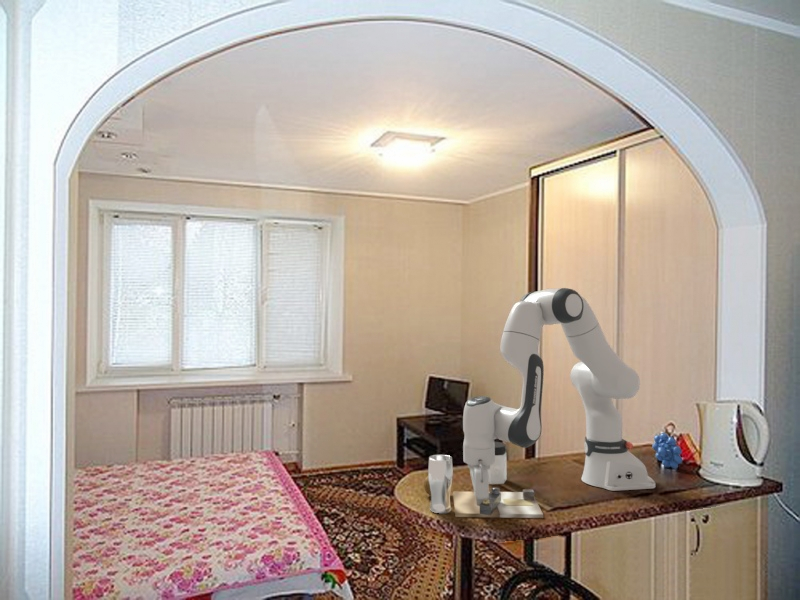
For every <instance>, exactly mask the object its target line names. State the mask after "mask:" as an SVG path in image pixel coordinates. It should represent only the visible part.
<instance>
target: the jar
mask: <svg viewBox="0 0 800 600" xmlns="http://www.w3.org/2000/svg"><path fill="white" fill-rule="evenodd" d="M494 443H495V462H494V463H493V464H491V465H490V469H488V479H489V485H490V486H491V485H504V484H505V483H506V481H507V479H508V478H507V477H508V475H507V473H508V472H507V471H508V470H507V466H508V465H507V448H506V447H507V446H506V444H505V443H504V442H501V441H494Z"/></svg>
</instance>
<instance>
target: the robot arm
mask: <svg viewBox="0 0 800 600" xmlns="http://www.w3.org/2000/svg"><path fill="white" fill-rule="evenodd" d="M547 325H548V326H551V325H560V326H561V328H562V332H563V333H564V336H565V339H566V340H567V343H568V345H569V346H570V349H571V351H572V353H573V355H574V357H575V358H576V359H578V360H579V361H580V362H579V361H578V362H577V363H575V364H574V365H573V367H572V368H571V370H570V377H569V378H570V382H571V384H572V385H573V387H574V388H575V390H577V392H578V394H579V397H580V399H581V401H582V404H583V408H584V412H585V428H586V429H585V432H586V434H585V435H586V436H585V438H584V454H585V459H584V465H583V472H582V475H581V481H582V482H583V483H585V484H587V485H590V486H593V487H597V488H602V489H606V490H608V491H614V492H615V491H629V490H631V491H632V490H635V491H636V490H647V489H648V490H649V489H656V481H655V480H654V479H653V478H652V477H650V476H649V474H648V470H647V467H646V465H645V464H644V463H643V461H641V460H640V459H639V458H638V457H637V456H635V455H634V454H633V453H631V452H630V451H629V450H633V448H634V444H633V443H632V442H630V441H627V440H626V439H625V438H623V416H622V414H621V412H620V411H619V410H618V408H616V406H615V405H614V403H613V400H612V399H614V400H626V399H627V400H628V399H632V398H634V397H635V396H636V395H637V394H638V392H639V390H640V388H641V387H640V385H641V380H640V375H639V374H638V373H637V371H636V370H635V369H633V368H632V367H630V366H629V365H627V364H626V363H625V362H624V361H623V360H622V359H621V357H620V356H619V355H618V354H617V353H616V352H615V350H614V349H613V348H612V346H611V345H610V343H609V342H608V340H607V338H606V336H605V334H604V332H603V329H602V328H601V325H600V323H599V320H598V319H597V317H596V314H595V312H594V310H593V309H592V307H591V306H590V304H589V303H588V301H587V300H586V298H585V297H583V296H582V295H581V294H580V293H579V292H577V291H576V290H575V289H573V288H566V287H562V288H561V287H560V288H547V289H543V290H537V291H536V290H535V291H531V292H528V293H526V294H524V295H523V296H522V297H521V299H520V300H519V301H517V302H515V304H513V305H512V307H511V309H510V312H509V314H508V317H507V319H506V322H505V324H504V327H503V331H502V334H501V335H502V336H501V339H500V344H499V346H500V349H499V351H500V353H501V355H502V357H503V359H504V360H505V362H507V363H508V364H509V365H510V366H512V367H513V368H515V369H516V370H517V371H518V372H519V373H520V374H521V377H522V389H521V396H520V397H521V399H520V407H519V408H514V407H509V406H505V405H501V404H499V403H496V402H494V400H493V399H492V398H491V397H489V396H486V395H485V396H484V395H483V396H482V395H479V396H473V397H471V398H469V399H468V400H467V401H466V402H465V405H464V407H463V414H462V415H463V417H462V431H463V435H464V437H463V438H464V439H463V445H462V451H463V452H462V455H463V456H462V457H463V458H462V459H463V463H465V464H466V465H467V468H468V469H469V474H470V479H471V483H472V488H473V492H474V494H475V498H476V504H477V506H480V504H481V503H482V502H483V500H486V499H488V498H489V492H490V486H489V485H490V484H489V479H488V469H490V465H491V464H493V463H494V462H495V443H494V442H495V440H499V441H503V442H507V443H511V444H513V445H515V446H518V447H520V448H523V449H526V448H529V447H531V446H533V445H534V444H535V443H536V442H537V441H538V440H539V439H540V437H541V434H542V417H541V416H542V413H541V412H542V400H543V399H542V398H543V386H544V372H545V371H544V370H545V369H544V366H545V365H544V361H543V359H542V358H541V357H540V353H539V345H540V340H541V337H542V331H543V327H544V326H547Z"/></svg>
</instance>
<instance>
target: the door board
mask: <svg viewBox="0 0 800 600" xmlns="http://www.w3.org/2000/svg"><path fill="white" fill-rule="evenodd" d="M490 492H491V491H489V493H490ZM500 493H501V502H500V503H499V504H498V506H497V507H496V508H495V510H494V511H493V512H492V514H491V515H485V514H480V506H477V504H476V498H475V494H474V491H455V490H454V491H452V498H453V499H452V500H453V507H454V515H455V518H506V519H507V518H511V519H512V518H515V519H544V513H543V511H542V510H541V507H540V505H539V503H538V501H537V500H536V497H535V491H534V489H527V488H526V489H522V491H500Z"/></svg>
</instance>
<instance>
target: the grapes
mask: <svg viewBox="0 0 800 600" xmlns="http://www.w3.org/2000/svg"><path fill="white" fill-rule="evenodd" d="M653 438H654V442H653V443H652V445H651V446H652V449H653V450H654V451H655V459H657V460H658V461H661V464H662V465H663V467H664V468H666V469H667V468H671V469H674V470H675V469H678V467H679V465H681V464H682V463H683V458H682V457H681V454H682V451H683V450H682V449H681V447H680V446H679V445H677V441H676V439H675V437H673V436H668V434H667V433H665V432H662V433H660V434H659V435H658V434H655V436H654V437H653Z"/></svg>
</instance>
